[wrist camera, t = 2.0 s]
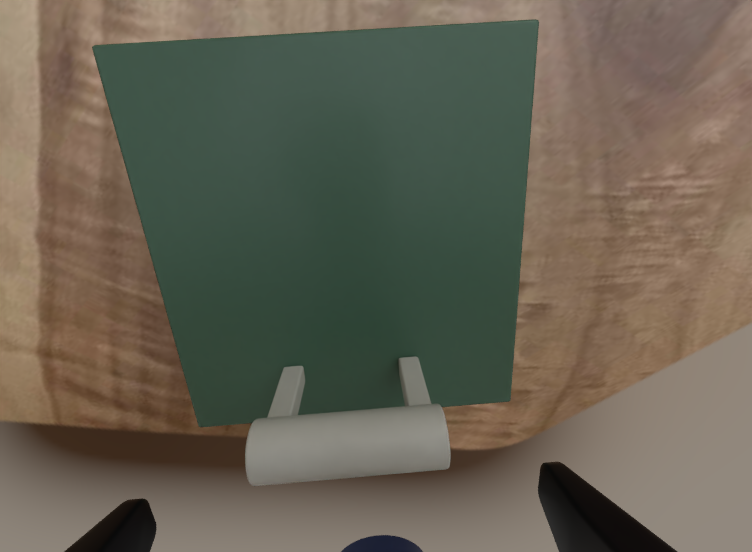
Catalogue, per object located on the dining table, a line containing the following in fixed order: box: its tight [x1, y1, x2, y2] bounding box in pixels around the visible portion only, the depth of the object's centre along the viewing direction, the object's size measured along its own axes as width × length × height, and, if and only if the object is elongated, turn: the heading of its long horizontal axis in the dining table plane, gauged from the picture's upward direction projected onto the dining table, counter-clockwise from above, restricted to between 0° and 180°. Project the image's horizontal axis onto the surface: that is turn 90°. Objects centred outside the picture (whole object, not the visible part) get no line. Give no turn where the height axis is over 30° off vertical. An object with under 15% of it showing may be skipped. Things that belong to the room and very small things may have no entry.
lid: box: [92, 19, 539, 486], centre depth 10 cm, size 12×12×5 cm
